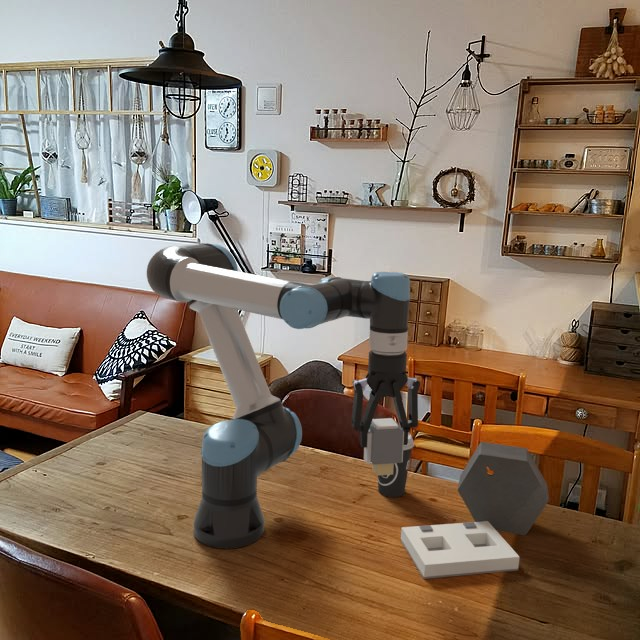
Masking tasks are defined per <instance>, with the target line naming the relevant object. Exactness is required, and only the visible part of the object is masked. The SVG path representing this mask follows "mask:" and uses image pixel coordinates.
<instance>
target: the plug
mask: <svg viewBox="0 0 640 640" xmlns="http://www.w3.org/2000/svg"><path fill="white" fill-rule="evenodd" d="M369 430H370V432H371V433H372V440H371V469H372V471H373V472H374V473H375V475H376V476H378V475H392V474H393V468H394V463H402V447H403V429H402V428H401V426H400V423H398V421H396V420H395V419H394V418H392V417H388V418H387V417H386V418H385V417H384V418H373V420H372V422H371V425H370V428H369Z"/></svg>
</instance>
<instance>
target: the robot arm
mask: <svg viewBox="0 0 640 640" xmlns="http://www.w3.org/2000/svg"><path fill="white" fill-rule="evenodd" d="M146 279H147V283H148V285H149V287H150V288H151V290H152V291H153V292H154V293H155V294H157V295H158V296H159V297H161V298H163V299H167V300H170V301H171V300H172V301H176V302H178V303H179V302H180V303H187V305H188V307H189V309H190V310H193V311H195V312H196V313H198V315H199V317H200V321H201V322H202V325H203V327H204V330H205V332H206V335H207V338H208V339H209V343H210V345H211V348H212V351H213V353H214V355H215V358H216V360H217V363H218V365H219V368H220V370H221V371H220V372H221V374H222V375H223V377H224V381H225V383H226V387H227V388H228V390H229V393H230V396H231V399H232V400H233V403H234V405H235V412H234V414H233V417H232V418H230V420H226V419H225V420H221V421H219V422H216V423H214V424H212V425H210V427H208V428H207V429H206V431H204V434H203V437H202V446H201V452H200V455H201V499H200V501H199V506H198V508H197V510H196V514H195V517H194V520H193V535H194V537H195V539H196V540H197V541H199V542H200V544H203V545H205V546H208V547H211V548H215V549H223V550H224V549H227V550H228V549H229V550H231V549H236V548H243V547H246V546H249V545H251V544H253V543H255V542H257V541H258V540H260V538H261V537H262V536H263V535H264V532H265V517H264V514H263V512H262V509H261V505H260V501H259V499H258V490H257V489H258V476H259V475H261V474H262V473H265V472H266V471H268V470H269V469H272V468H273V467H274V466H276V465H278V464H279V463H282V462H285V461H287V460H288V459H289V458H290V457H291V456H293V454H295V453H296V452H297V450H298V449H299V447H300V444H301V443H302V439H303V438H302V437H303V430H302V429H303V428H302V424H301V422H300V419H299V417H298V416H297V414H296V413H295V412H294V411H291V409H290V408H288V407H286V406H285V407H284V405H283V404H282V400H281V398H279V397H277V396H274V395H273V394H272V393H271V391H270V388H269V385H268V383H267V381H266V378H265V375H264V374H263V373H264V372H263V370H262V368H261V365H260V364H259V363H260V362H259V361H258V359H257V355H256V353H255V351H254V348H253V346H252V343H251V341H250V338H249V336H248V333H247V330H246V328H245V326H244V323H243V321H242V318H241V316H240V313H239V311H241V312H248V313H252V314H255V315H256V314H257V315H259V316H260V315H261V316H265V317H271V318H274V319H279V320H283V321H284V323H285V324H287V325H288V326H289V327H290V328H293V329H296V330H304V329H313V328H315V327H317V326H319V325H322V324H326V323H328V322H332V321H336V320H339V319H342V318H346V317H352V318H359V319H365V320H366V319H369V336H368V337H369V340H368V348H369V349H370V351H369V352H368V367H367V375H366V376H365V378H363V379H359V380H357V379H353V381H352V386H353V390H354V394H353V404H352V413H351V420H350V421H351V422H350V425H351V427H352V428H353V429H354V431H358V432H359V444H360V446H361V448H363V461H365V463H366V465H372V462H371V440H372V433H371V432H370V430H369V428H370V425H371V422H372V420H373V419H374V416H375V413H376V411H377V408H378V406H379V404H380V402H381V399H382V398H386V397H389V398H392V401H393V404H394V407H395V411H396V415H397V418H398V422H399V423H398V424H399V425H400V427H401V428H402V429H403V445H407V443H408V433H410V432H411V429H413V428H417V427H419V403H418V402H419V399H418V398H419V397H418V395H419V389H420V387H421V381H420V380H419V379H417V378H416V377H415V376H414V377H409V376H408V375H407V359H408V353H406V351H407V350H408V337H409V336H408V335H409V318H410V317H409V315H410V300H411V296H412V295H411V288H410V287H411V285H410V283H411V279H410V277H409V275H407V273H403V272H397V271H377V272H374V273H372V275H371V279H370V280H360V279H351V278H343V277H340V276H339V277H338V276H336V277H331V276H330V277H327V276H326V277H323V278H321V279H320V281H319V282H317V283H314V284H307V283H302V282H295V281H291V280H287V279H281V278H276V277H269V276H265V275H259V274H254V273H251V272H250V273H249V272H243V271H240V270H238V264H237V261H236V259H235V257H234V255H233V254H232V253H231V252H230V251H229V250H228V249H227V248H226V247H225V246H222V245H220V244H217V243H208V242H207V243H206V242H201V243H198V244H187V245H179V246H178V245H173V246H168V247H164V248H162V249H160V250H158V251H157V252H155V254H154V255H152V257H151V258H150V259H149V262H148V264H147V267H146ZM367 385H368V387H369V388H370V390H371V391H370V393H369V399H368V402H367V404H366V407H365V410H364V412H363V402H364V392H365V391H366V387H367ZM405 386H406V388H408V389H407V401H408V402H407V405H408V406H407V408H408V409H407V410H408V411H407V412H408V414H407V413H406V410H405V407H404V403H403V396H402V392H401V391H402V390H403V389H404V387H405ZM362 412H363V416H362ZM407 415H408V416H407ZM407 417H408V418H407ZM402 462H403V447H402Z"/></svg>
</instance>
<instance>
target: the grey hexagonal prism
mask: <svg viewBox="0 0 640 640" xmlns="http://www.w3.org/2000/svg"><path fill="white" fill-rule="evenodd" d="M489 471H490V472H493V473H492V474H489V473H488V472H489ZM457 485H458V487H457V492H458V494H459V496H460V497H461V499H462V501H463V503H464V504H465V507H466V508H467V510H468V511H469V513H470V515H471V517H472V518H473V520H474V522H482V521H488V522H489V523H490V524H491V525H492V526H493V527H494V529H495V530H496V531H497V532H501V533H502V532H503V533H509V534H514V535H520V536H526V535H527V534H528V533H529V531H530V530H531V528H532V527H533V525H534V524H535V522H536V521H537V519H538V517H539V516H540V515H541V513H542V512H543V511H544V509H545V507H546V506H547V504H549V503H548V502H549V501H550V496H549V490H548V489H549V488H548V483H547V482H546V479H545V478H544V476H543V475H542V473H541V471H540V469H539V467H538V466H537V464H536V462H535V460H534V459H533V457H532V456H531V454H530V451H529V450H528V448H526V447H520V446H514V445H508V444H507V445H506V444H499V443H493V442H492V443H491V442H487V441H486V442H485V441H481V442H480V443H479V444H478V446H477V447H476V449H475V450H474V452H473V454H472V455H471V457H470V459H469V461H468V462H467V464H466V465H465V466H464V469H463V470H462V472H461V474H460V475H459V481H458V484H457Z"/></svg>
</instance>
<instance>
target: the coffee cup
mask: <svg viewBox="0 0 640 640" xmlns="http://www.w3.org/2000/svg"><path fill="white" fill-rule="evenodd" d="M414 447H415V442H414V439H413V437H412V434H411V433H410V432H408V443H407V445H403V462H402V463H394V468H393V474H392V475H377V488H378V489H377V490H378V493H379V494H380V495H382V496H385V497H387V498H399V497H401V496H404V494H405V492H406V487H407V486H406V484H407V478H408V474H409V473H408V471H409V466H410V461H411V455H412V449H413V448H414Z"/></svg>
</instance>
